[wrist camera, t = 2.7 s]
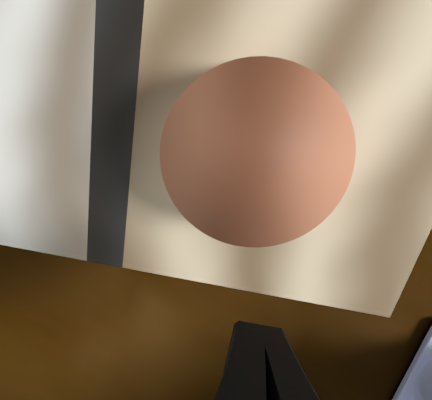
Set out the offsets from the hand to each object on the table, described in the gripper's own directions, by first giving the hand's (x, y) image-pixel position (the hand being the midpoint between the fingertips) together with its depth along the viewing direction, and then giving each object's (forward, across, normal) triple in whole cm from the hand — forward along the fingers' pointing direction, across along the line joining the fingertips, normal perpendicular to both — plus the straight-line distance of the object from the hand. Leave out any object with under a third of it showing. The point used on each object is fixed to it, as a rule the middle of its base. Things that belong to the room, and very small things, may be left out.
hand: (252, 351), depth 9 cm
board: (+9, +6, -5) cm, 12 cm away
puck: (+8, +1, -4) cm, 9 cm away
